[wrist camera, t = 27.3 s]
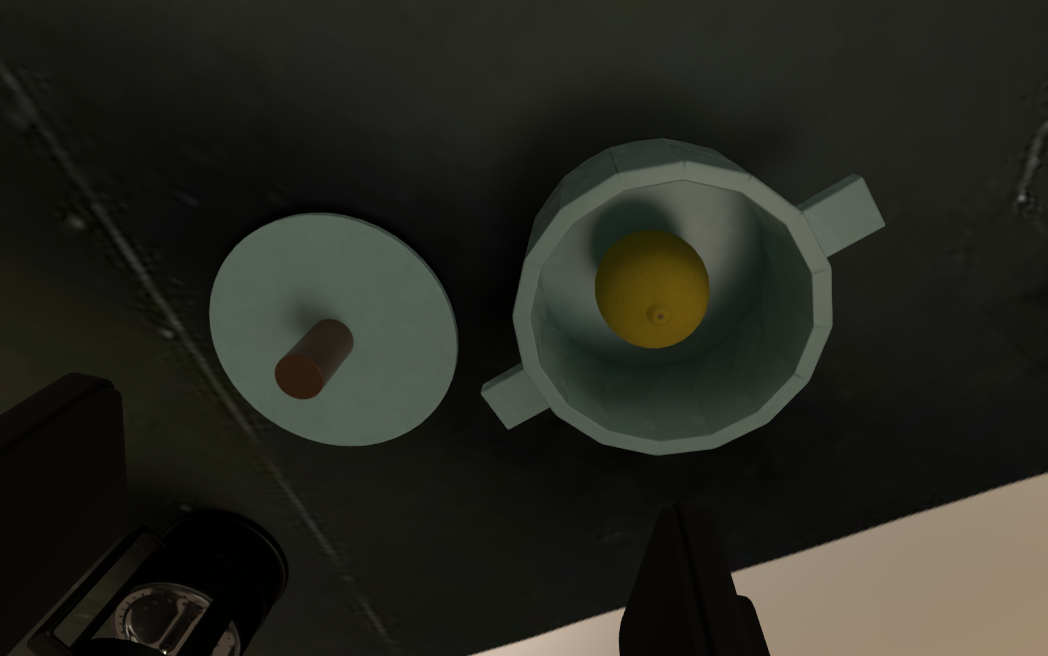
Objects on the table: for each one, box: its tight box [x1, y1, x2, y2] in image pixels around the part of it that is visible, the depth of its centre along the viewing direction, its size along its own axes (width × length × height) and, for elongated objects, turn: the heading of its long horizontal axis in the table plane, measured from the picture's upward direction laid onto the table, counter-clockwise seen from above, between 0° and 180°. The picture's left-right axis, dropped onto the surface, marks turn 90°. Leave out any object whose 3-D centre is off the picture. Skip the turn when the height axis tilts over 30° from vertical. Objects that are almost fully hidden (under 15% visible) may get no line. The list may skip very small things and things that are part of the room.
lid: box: [209, 213, 458, 446], centre depth 36 cm, size 15×15×6 cm
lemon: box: [595, 229, 710, 348], centre depth 32 cm, size 6×6×8 cm
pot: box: [481, 138, 885, 455], centre depth 32 cm, size 14×19×8 cm
